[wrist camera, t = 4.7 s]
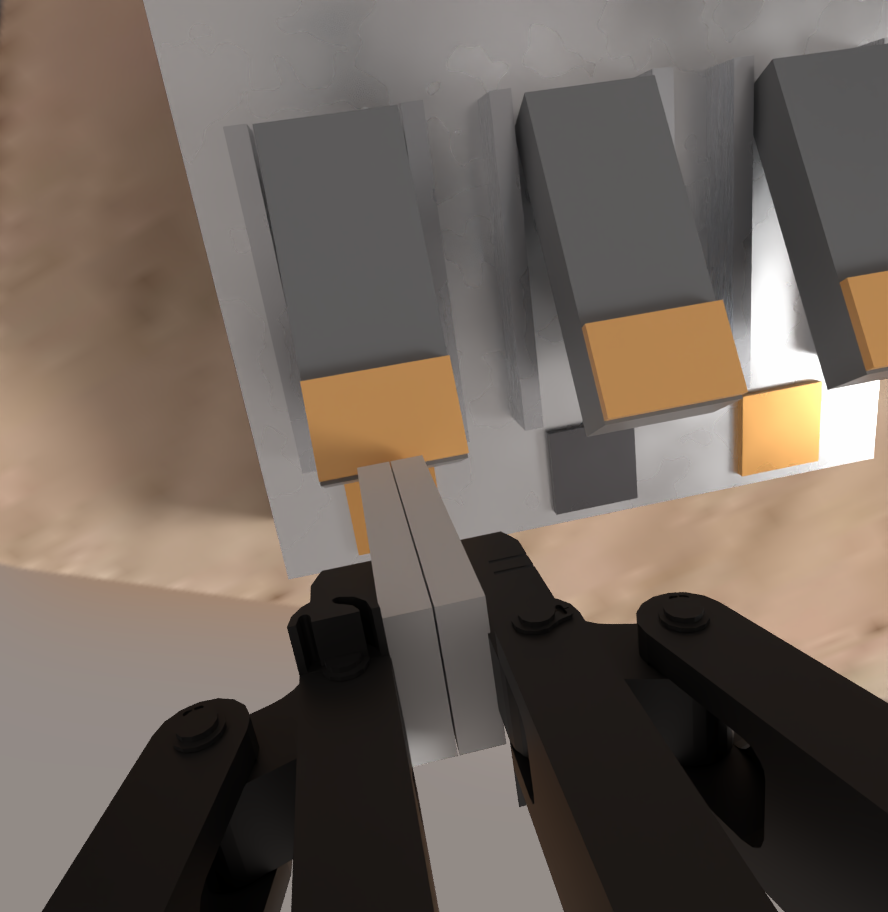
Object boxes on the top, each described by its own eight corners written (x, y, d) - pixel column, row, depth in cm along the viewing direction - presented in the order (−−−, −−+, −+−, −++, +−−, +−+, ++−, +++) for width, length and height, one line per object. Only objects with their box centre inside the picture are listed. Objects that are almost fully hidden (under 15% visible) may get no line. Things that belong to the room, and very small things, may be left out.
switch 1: (262, 157, 18) (250, 117, 16) (395, 138, 19) (397, 97, 17) (325, 487, 18) (319, 486, 16) (460, 461, 18) (469, 456, 16)
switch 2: (513, 130, 19) (527, 84, 18) (633, 113, 20) (659, 67, 18) (586, 437, 18) (609, 422, 16) (713, 412, 19) (749, 395, 17)
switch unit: (172, 14, 22) (115, -64, 16) (805, -59, 24) (965, -151, 18) (294, 519, 28) (286, 601, 22) (789, 421, 31) (904, 471, 24)
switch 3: (742, 98, 20) (778, 50, 18) (853, 82, 21) (900, 34, 19) (827, 390, 19) (875, 371, 17) (944, 367, 19) (1003, 346, 18)
